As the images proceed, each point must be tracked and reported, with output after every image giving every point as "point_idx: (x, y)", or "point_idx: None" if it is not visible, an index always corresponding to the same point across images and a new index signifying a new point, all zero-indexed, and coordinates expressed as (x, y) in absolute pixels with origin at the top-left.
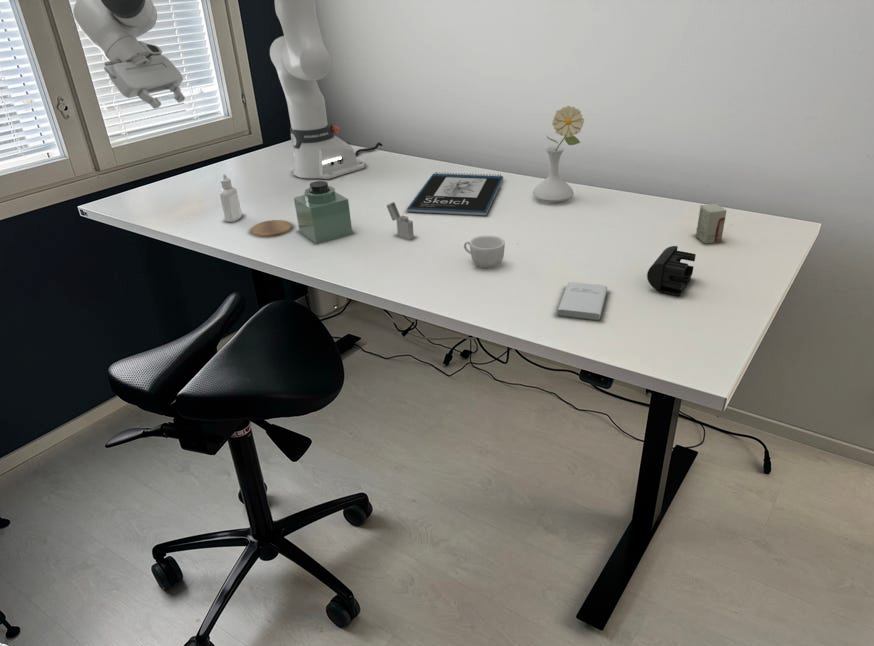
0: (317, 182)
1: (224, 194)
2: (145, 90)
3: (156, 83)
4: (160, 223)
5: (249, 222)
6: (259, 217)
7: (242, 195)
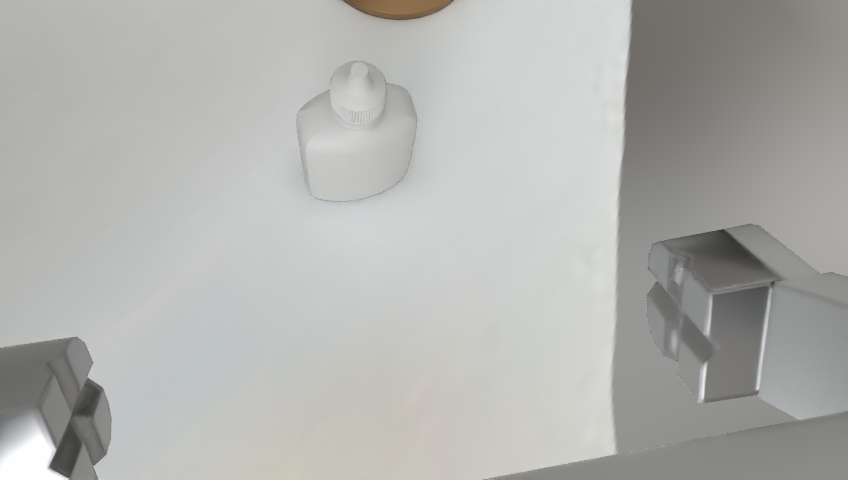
0: None
1: (409, 96)
2: None
3: (564, 471)
4: None
5: None
6: (297, 75)
7: None
